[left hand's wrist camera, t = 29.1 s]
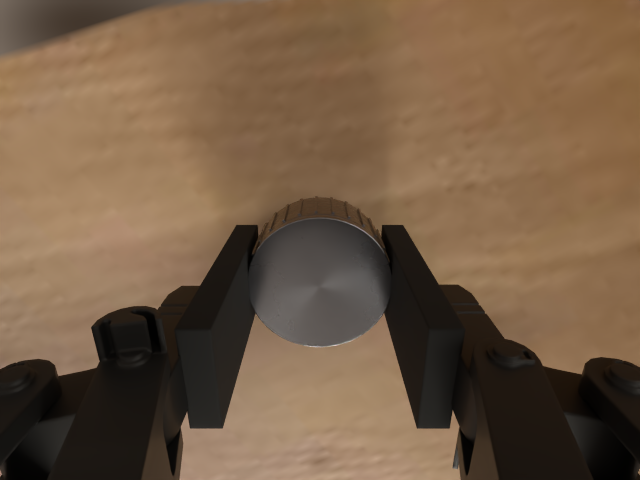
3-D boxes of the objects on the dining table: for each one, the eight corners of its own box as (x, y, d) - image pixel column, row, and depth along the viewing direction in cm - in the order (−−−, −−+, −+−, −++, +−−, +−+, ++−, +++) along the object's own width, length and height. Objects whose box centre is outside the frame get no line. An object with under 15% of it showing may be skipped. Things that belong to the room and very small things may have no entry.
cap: (376, 185, 13) (386, 204, 11) (389, 303, 15) (400, 338, 13) (243, 206, 14) (229, 228, 12) (270, 319, 15) (262, 357, 13)
